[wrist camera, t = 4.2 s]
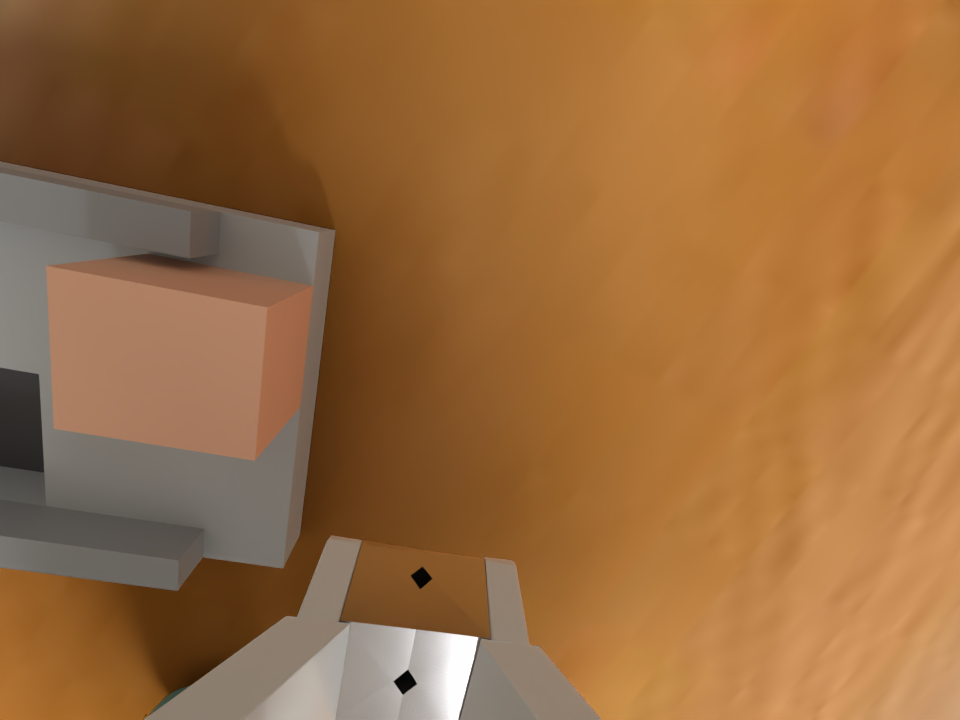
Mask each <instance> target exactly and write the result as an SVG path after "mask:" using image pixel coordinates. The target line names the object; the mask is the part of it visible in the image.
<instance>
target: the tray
mask: <svg viewBox="0 0 960 720" xmlns="http://www.w3.org/2000/svg"><path fill="white" fill-rule="evenodd" d="M335 231H336V230H332V229H327V228H322V227H317V226H312V225H307V224H303V223H298V222H293V221H288V220H283V219H278V218H273V217H269V216H264V215H259V214H254V213H249V212H244V211H239V210H235V209H230V208H225V207H220V206H215V205H210V204H205V203H201V202H196V201H191V200H186V199H181V198H176V197H171V196H166V195H162V194H157V193H152V192H147V191H142V190H137V189H132V188H128V187H123V186H118V185H113V184H108V183H103V182H98V181H94V180H89V179H84V178H79V177H74V176H69V175H64V174H60V173H55V172H50V171H45V170H40V169H35V168H30V167H26V166H21V165H16V164H11V163H6V162H1V161H0V568H8V569H15V570H23V571H30V572H38V573H46V574H53V575H61V576H68V577H76V578H83V579H91V580H99V581H106V582H114V583H121V584H129V585H136V586H144V587H151V588H159V589H167V590H174V591H178V590H179V588H180V587H181V586H182V584H183V583H184V582H185V581H186V579H187V578H188V577H189V575H190V574H191V573H192V571H193V570H194V569H195V567H196V566H197V565H198V563H199V562H200V561H201V559H202V558H203V557H204V558H211V559H218V560H225V561H233V562H240V563H247V564H254V565H261V566H269V567H276V568H283V567H284V565H285V563H286V562H287V560H288V558H289V556H290V554H291V552H292V550H293V548H294V546H295V544H296V542H297V540H298V538H299V536H300V531H301V522H302V513H303V505H304V496H305V488H306V479H307V471H308V462H309V454H310V445H311V436H312V428H313V419H314V411H315V402H316V394H317V385H318V377H319V368H320V359H321V351H322V342H323V334H324V325H325V317H326V308H327V299H328V291H329V282H330V274H331V265H332V257H333V248H334V240H335ZM140 254H152V255H157V256H163V257H168V258H173V259H178V260H183V261H188V262H194V263H199V264H204V265H209V266H214V267H219V268H224V269H230V270H235V271H240V272H245V273H250V274H255V275H260V276H266V277H271V278H276V279H281V280H286V281H291V282H297V283H302V284H307V285H312V286H313V294H312V304H311V313H310V322H309V332H308V341H307V350H306V359H305V369H304V378H303V387H302V396H301V406H300V408H299V409H298V410H297V411H296V413H295V414H294V415H293V416H292V417H291V418H290V420H289V421H288V422H287V423H286V424H285V426H284V427H283V428H282V429H281V430H280V432H279V433H278V434H277V435H276V436H275V437H274V439H273V440H272V441H271V442H270V443H269V445H268V446H267V447H266V448H265V449H264V451H263V452H262V453H261V454H260V455H259V456H258V458H257V459H256V460H255V461H253V460H247V459H241V458H235V457H228V456H222V455H216V454H209V453H203V452H197V451H190V450H184V449H178V448H172V447H165V446H159V445H153V444H146V443H140V442H134V441H128V440H121V439H115V438H109V437H102V436H96V435H90V434H83V433H77V432H71V431H65V430H58V429H54V424H53V403H52V381H51V360H50V339H49V317H48V296H47V274H46V266H48V265H57V264H65V263H73V262H82V261H90V260H99V259H107V258H115V257H124V256H132V255H140Z"/></svg>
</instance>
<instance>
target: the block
mask: <svg viewBox="0 0 960 720" xmlns="http://www.w3.org/2000/svg"><path fill="white" fill-rule="evenodd" d="M46 274H47V296H48V317H49V339H50V360H51V381H52V403H53V424H54V429H58V430H65V431H71V432H77V433H83V434H90V435H96V436H102V437H109V438H115V439H121V440H128V441H134V442H140V443H146V444H153V445H159V446H165V447H172V448H178V449H184V450H190V451H197V452H203V453H209V454H216V455H222V456H228V457H235V458H241V459H247V460H253V461H255V460H256V459H257V458H258V456H259V455H260V454H261V453H262V452H263V451H264V449H265V448H266V447H267V446H268V445H269V443H270V442H271V441H272V440H273V439H274V437H275V436H276V435H277V434H278V433H279V432H280V430H281V429H282V428H283V427H284V426H285V424H286V423H287V422H288V421H289V420H290V418H291V417H292V416H293V415H294V414H295V413H296V411H297V410H298V409H299V408H300V406H301V396H302V387H303V378H304V369H305V359H306V350H307V341H308V332H309V322H310V313H311V304H312V294H313V286H312V285H307V284H302V283H297V282H291V281H286V280H281V279H276V278H271V277H266V276H260V275H255V274H250V273H245V272H240V271H235V270H230V269H224V268H219V267H214V266H209V265H204V264H199V263H194V262H188V261H183V260H178V259H173V258H168V257H163V256H157V255H152V254H140V255H132V256H124V257H115V258H107V259H99V260H90V261H82V262H73V263H65V264H57V265H48V266H46Z"/></svg>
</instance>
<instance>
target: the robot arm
mask: <svg viewBox="0 0 960 720" xmlns="http://www.w3.org/2000/svg"><path fill="white" fill-rule="evenodd" d="M144 720H602V719H601V718H600V717H599V716H598V715H597V713H596V712H595V711H594V710H593V709H592V708H591V706H590V705H589V704H588V703H587V702H586V700H585V699H584V698H583V697H582V696H581V695H580V693H579V692H578V691H577V690H576V689H575V688H574V686H573V685H572V684H571V683H570V682H569V680H568V679H567V678H566V677H565V676H564V675H563V673H562V672H561V671H560V670H559V669H558V668H557V666H556V665H555V664H554V663H553V662H552V660H551V659H550V658H549V657H548V656H547V655H546V653H545V652H544V651H543V650H542V649H541V647H540V646H534V645H530V643H529V638H528V632H527V626H526V620H525V614H524V608H523V602H522V597H521V591H520V585H519V579H518V573H517V567H516V564H515V563H514V561H513V560H507V559H498V558H489V557H483V558H481V557H474V556H466V555H459V554H451V553H444V552H436V551H428V550H423V549H417V548H411V547H404V546H398V545H392V544H386V543H380V542H374V541H367V540H363V541H362V540H359V539H352V538H346V537H339V536H333V535H331V536H330V538H329V539H328V540H327V542H326V544H325V547H324V549H323V552H322V554H321V557H320V559H319V562H318V565H317V567H316V570H315V572H314V575H313V577H312V580H311V582H310V585H309V587H308V590H307V593H306V595H305V598H304V600H303V603H302V605H301V608H300V610H299V613H298V615H297V617H293V616H285V617H284V618H283V619H281V620H280V621H278V622H277V623H276V624H274V625H273V626H272V627H270V628H269V629H268V630H266V631H265V632H263V633H262V634H261V635H259V636H258V637H257V638H255V639H254V640H252V641H251V642H250V643H248V644H247V645H246V646H244V647H243V648H241V649H240V650H239V651H237V652H236V653H235V654H233V655H232V656H230V657H229V658H228V659H226V660H225V661H224V662H222V663H221V664H219V665H218V666H217V667H215V668H214V669H213V670H211V671H210V672H208V673H207V674H206V675H204V676H203V677H202V678H200V679H199V680H198V681H196V682H195V683H193V684H192V685H191V686H189V687H188V688H187V689H185V690H184V691H182V692H181V693H180V694H178V695H177V696H176V697H174V698H173V699H171V700H170V701H169V702H167V703H166V704H165V705H163V706H162V707H160V708H159V709H158V710H156V711H155V712H154V713H152V714H151V715H149V716H148V717H147V718H145V719H144Z"/></svg>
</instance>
